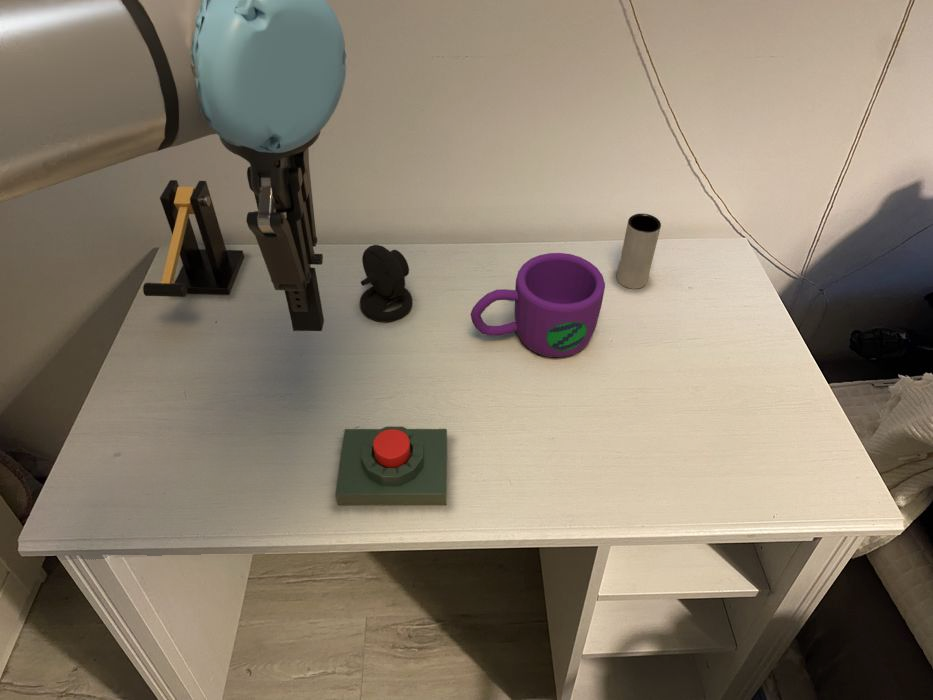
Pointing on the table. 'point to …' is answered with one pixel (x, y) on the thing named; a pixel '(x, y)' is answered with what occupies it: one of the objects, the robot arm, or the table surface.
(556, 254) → the mug
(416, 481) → the button block
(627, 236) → the grey hollow cylinder
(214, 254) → the switch bracket
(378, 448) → the red button
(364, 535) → the table surface
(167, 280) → the switch lever
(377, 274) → the webcam
